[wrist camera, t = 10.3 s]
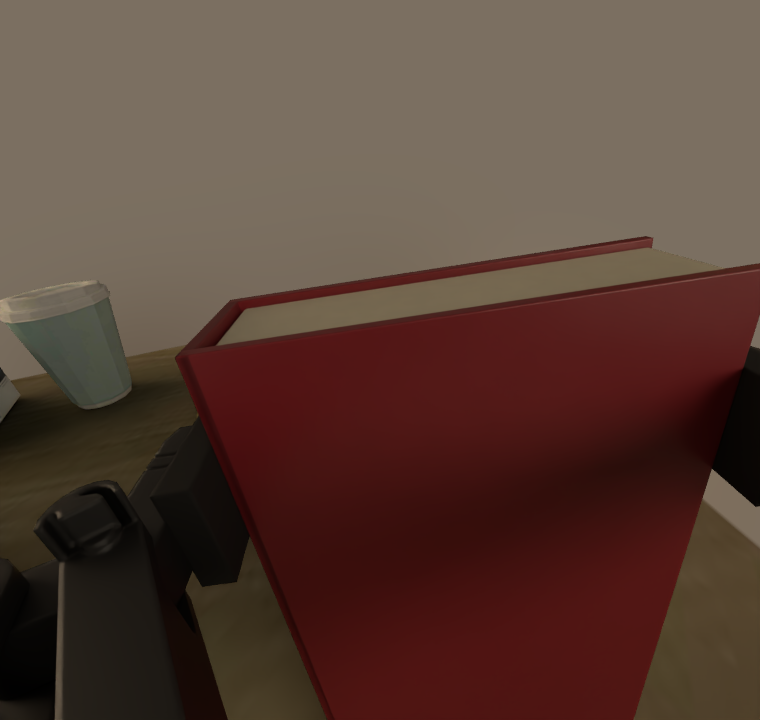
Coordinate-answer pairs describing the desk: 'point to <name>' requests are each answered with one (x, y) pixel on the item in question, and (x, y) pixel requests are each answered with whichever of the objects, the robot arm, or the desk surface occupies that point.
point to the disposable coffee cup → (73, 339)
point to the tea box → (6, 395)
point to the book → (478, 470)
